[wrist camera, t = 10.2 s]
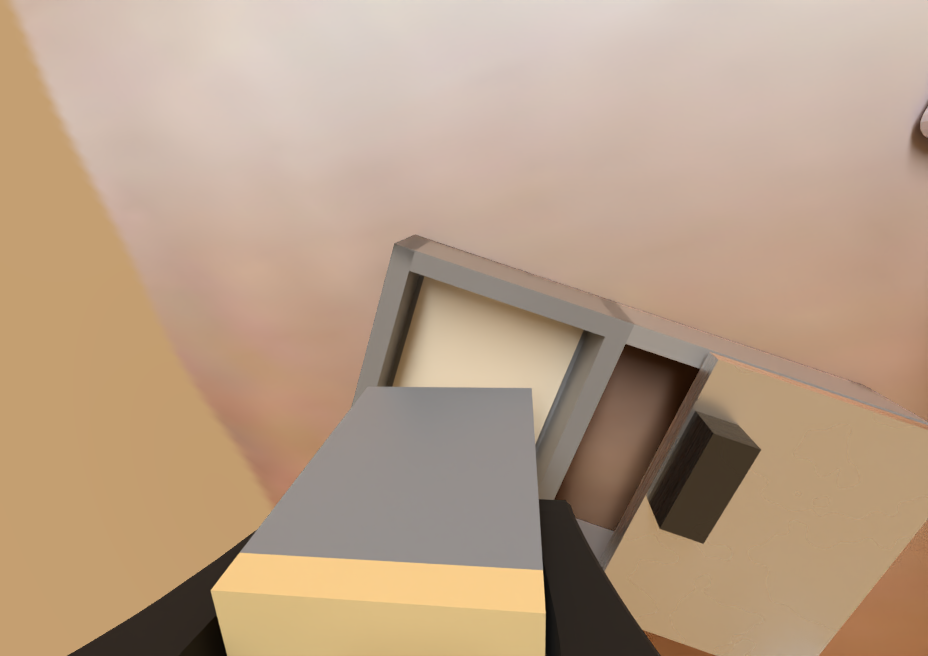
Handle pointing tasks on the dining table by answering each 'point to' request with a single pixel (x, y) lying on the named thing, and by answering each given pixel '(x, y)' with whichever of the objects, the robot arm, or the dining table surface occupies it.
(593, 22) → the dining table surface
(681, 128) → the dining table surface
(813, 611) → the lid
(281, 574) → the block
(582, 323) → the case
